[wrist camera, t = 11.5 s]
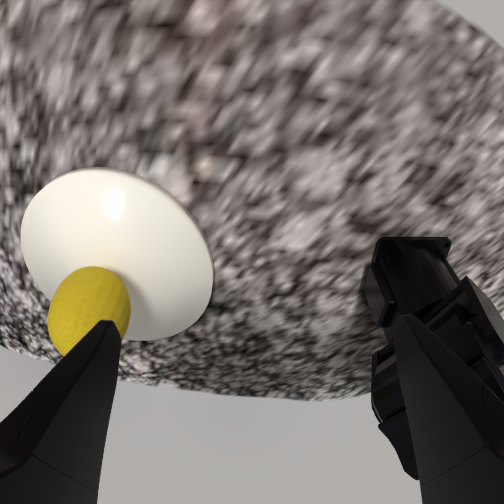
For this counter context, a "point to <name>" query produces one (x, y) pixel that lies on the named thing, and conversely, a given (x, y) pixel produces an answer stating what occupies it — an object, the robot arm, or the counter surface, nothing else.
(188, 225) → the plate
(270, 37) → the counter surface
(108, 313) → the lemon
